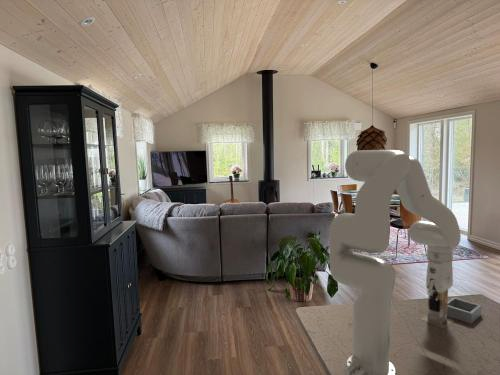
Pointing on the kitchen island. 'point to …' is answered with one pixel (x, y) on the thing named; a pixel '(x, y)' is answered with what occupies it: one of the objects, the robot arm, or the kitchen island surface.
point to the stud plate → (438, 323)
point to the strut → (442, 314)
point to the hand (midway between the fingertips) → (437, 307)
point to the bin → (463, 310)
